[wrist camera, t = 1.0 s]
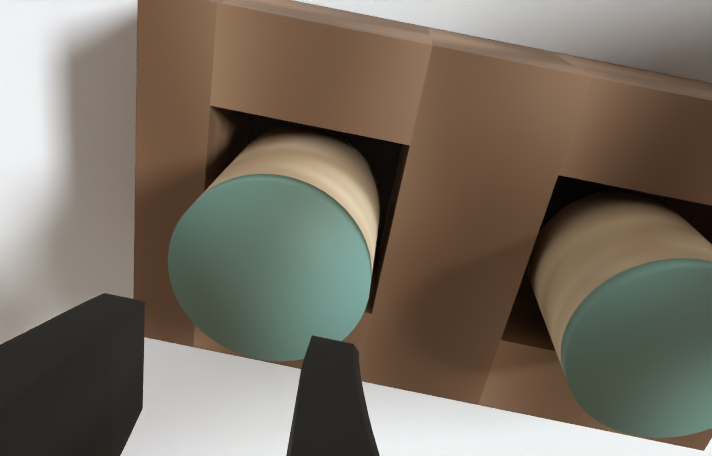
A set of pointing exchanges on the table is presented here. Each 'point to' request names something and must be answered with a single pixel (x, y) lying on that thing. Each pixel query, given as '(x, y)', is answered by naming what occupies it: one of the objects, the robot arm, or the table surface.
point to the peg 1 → (280, 245)
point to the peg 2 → (629, 311)
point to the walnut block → (414, 174)
